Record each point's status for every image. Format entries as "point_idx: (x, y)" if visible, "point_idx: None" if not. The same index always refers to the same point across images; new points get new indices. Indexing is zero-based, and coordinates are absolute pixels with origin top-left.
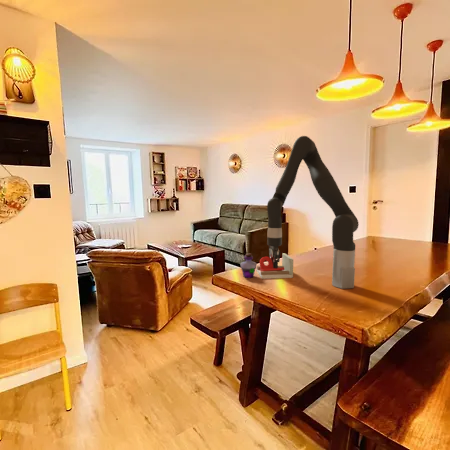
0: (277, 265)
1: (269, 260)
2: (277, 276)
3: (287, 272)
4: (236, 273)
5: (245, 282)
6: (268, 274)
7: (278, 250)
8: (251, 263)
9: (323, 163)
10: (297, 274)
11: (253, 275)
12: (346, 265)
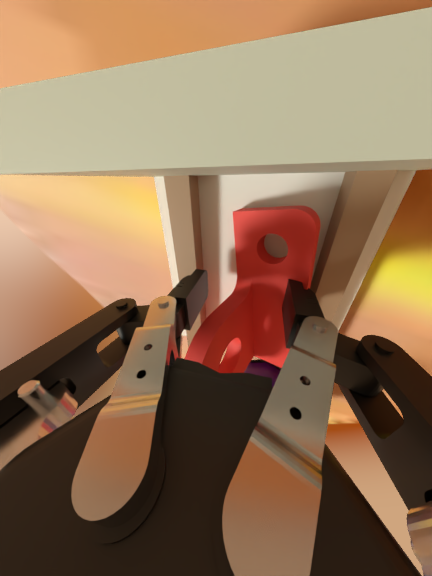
0: (304, 297)
1: (219, 352)
2: (355, 282)
3: (379, 193)
4: None
5: (340, 407)
6: None
7: (310, 540)
8: None
9: None
10: (322, 18)
11: (271, 367)
12: None
